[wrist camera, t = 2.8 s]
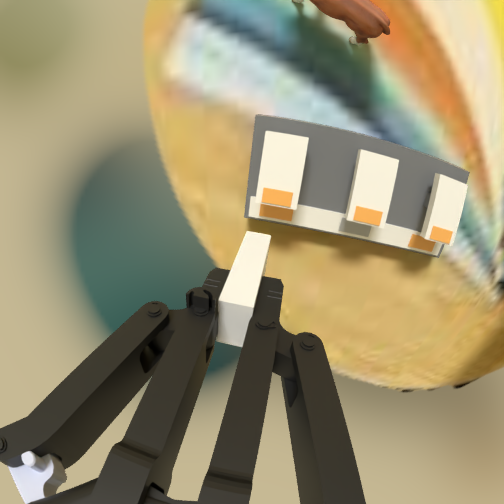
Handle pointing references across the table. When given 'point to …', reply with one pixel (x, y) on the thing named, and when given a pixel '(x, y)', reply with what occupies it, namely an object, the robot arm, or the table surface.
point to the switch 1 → (281, 169)
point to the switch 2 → (444, 210)
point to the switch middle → (371, 188)
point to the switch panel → (340, 181)
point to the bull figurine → (356, 17)
